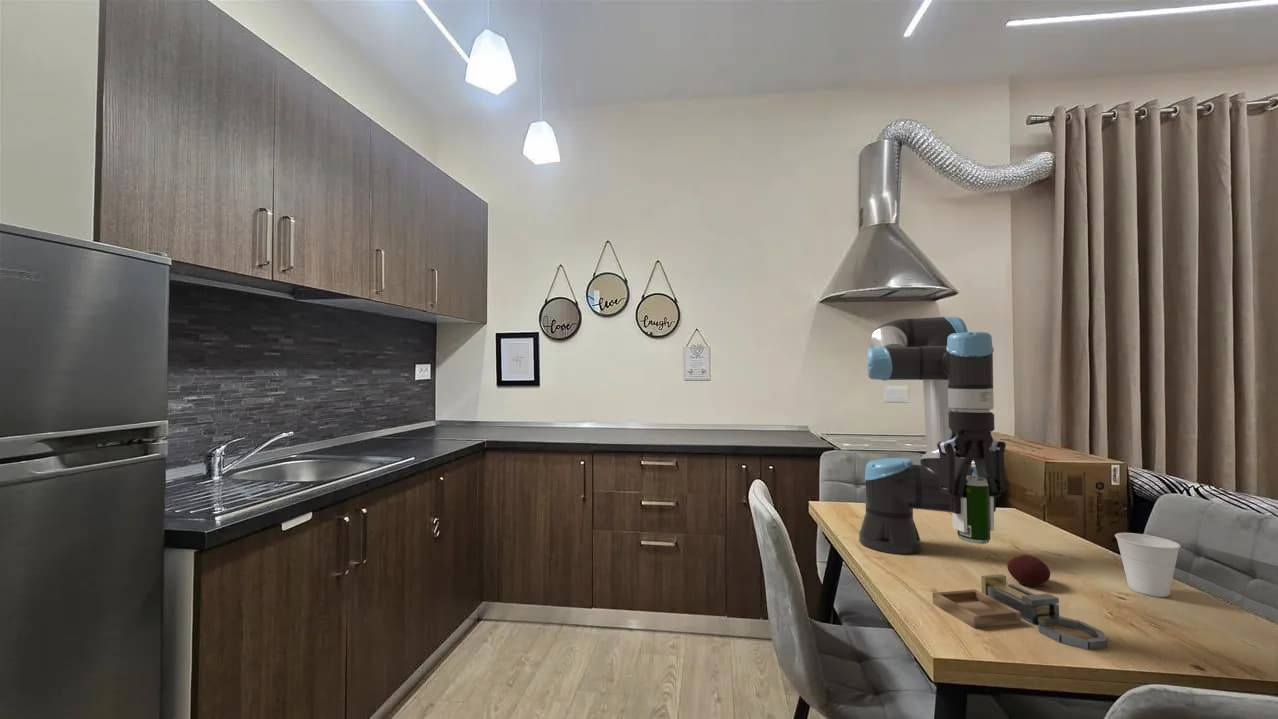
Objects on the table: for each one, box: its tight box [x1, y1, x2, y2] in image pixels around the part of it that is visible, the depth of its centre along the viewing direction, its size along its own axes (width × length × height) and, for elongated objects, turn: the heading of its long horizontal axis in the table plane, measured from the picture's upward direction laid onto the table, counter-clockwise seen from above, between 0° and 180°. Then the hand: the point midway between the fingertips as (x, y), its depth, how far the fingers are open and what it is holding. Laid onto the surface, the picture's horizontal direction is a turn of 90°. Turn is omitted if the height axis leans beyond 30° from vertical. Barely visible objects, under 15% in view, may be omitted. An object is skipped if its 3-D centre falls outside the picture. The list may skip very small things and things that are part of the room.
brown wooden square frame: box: [932, 588, 1022, 629], centre depth 96 cm, size 10×10×2 cm
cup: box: [1114, 532, 1182, 598], centre depth 106 cm, size 10×10×11 cm
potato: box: [1006, 554, 1051, 587], centre depth 110 cm, size 8×9×6 cm
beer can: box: [956, 476, 991, 545], centre depth 97 cm, size 5×5×12 cm
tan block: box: [980, 573, 1050, 621], centre depth 98 cm, size 11×5×4 cm, turn 10°
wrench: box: [988, 583, 1108, 651], centre depth 93 cm, size 18×9×4 cm, turn 10°
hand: (973, 529), depth 96 cm, fingers closed on beer can, 5 cm apart
